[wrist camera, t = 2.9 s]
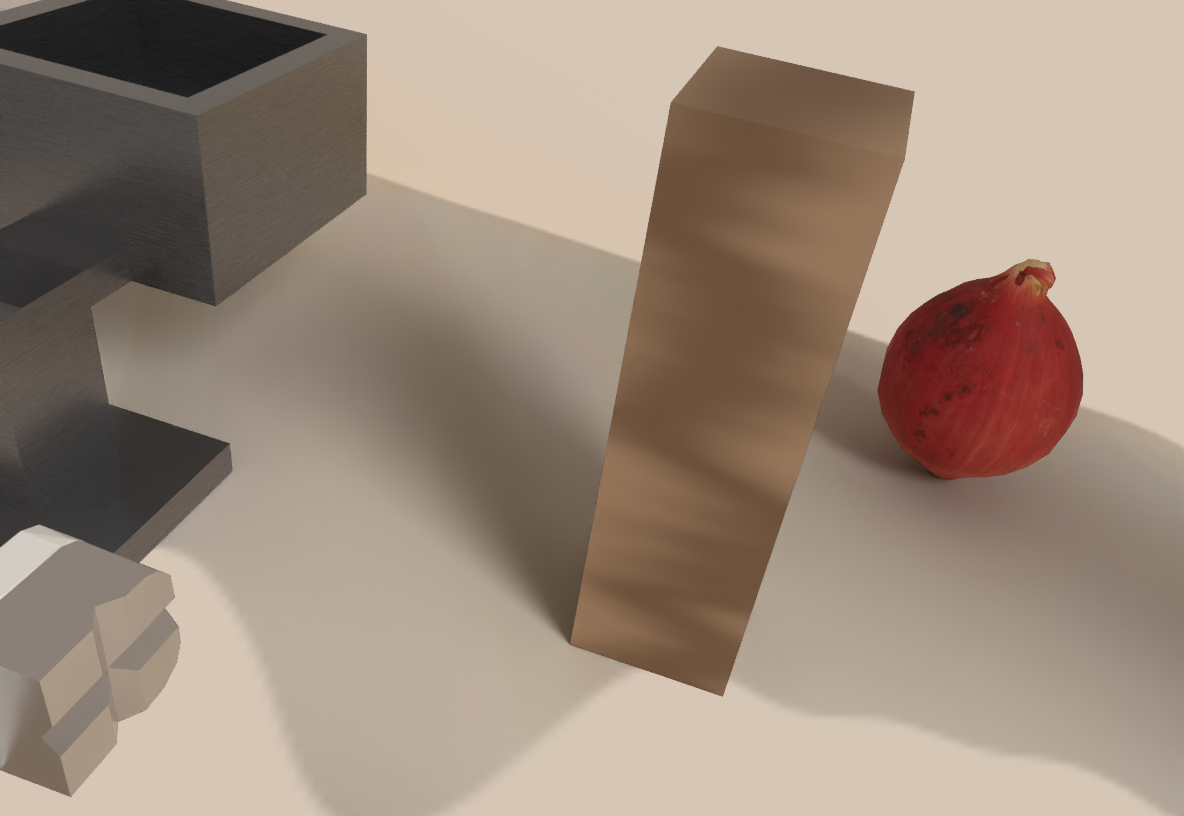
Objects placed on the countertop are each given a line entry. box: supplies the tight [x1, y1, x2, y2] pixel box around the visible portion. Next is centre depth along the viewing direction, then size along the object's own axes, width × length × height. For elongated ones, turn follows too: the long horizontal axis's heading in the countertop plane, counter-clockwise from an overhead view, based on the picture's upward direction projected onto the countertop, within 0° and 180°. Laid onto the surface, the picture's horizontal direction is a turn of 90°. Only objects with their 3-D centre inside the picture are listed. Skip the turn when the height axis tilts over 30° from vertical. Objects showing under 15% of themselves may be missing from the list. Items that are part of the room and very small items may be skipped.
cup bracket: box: [0, 0, 367, 563], centre depth 27 cm, size 8×14×10 cm, turn 162°
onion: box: [878, 259, 1083, 480], centre depth 31 cm, size 6×6×8 cm
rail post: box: [570, 47, 914, 696], centre depth 22 cm, size 4×4×14 cm
